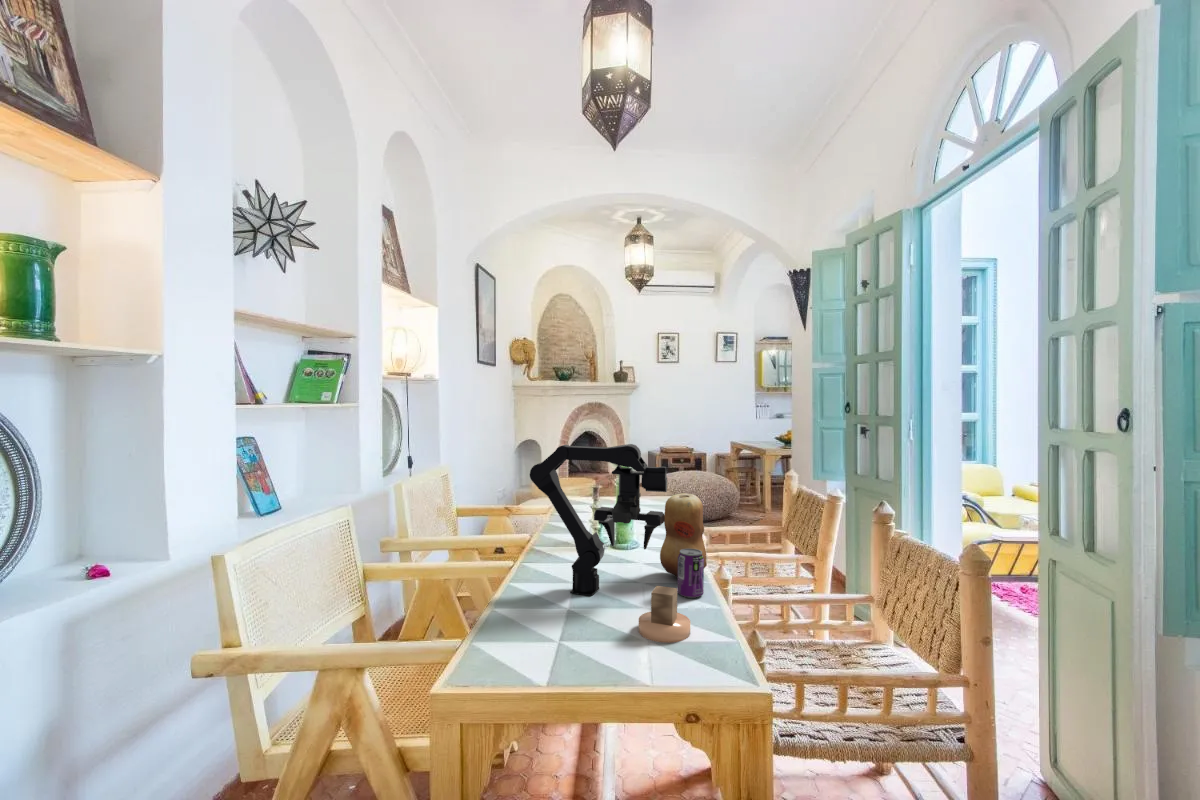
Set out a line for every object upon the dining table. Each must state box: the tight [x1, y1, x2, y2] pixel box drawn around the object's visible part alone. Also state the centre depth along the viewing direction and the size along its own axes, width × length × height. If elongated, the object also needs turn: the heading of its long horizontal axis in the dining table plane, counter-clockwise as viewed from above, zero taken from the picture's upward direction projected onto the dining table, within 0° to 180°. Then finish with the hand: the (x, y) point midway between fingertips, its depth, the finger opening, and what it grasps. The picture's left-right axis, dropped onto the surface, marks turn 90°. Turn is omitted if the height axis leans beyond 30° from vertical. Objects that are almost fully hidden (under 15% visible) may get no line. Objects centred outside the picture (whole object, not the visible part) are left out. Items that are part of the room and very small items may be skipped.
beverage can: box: [676, 549, 705, 599], centre depth 158 cm, size 7×7×12 cm
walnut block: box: [650, 585, 678, 626], centre depth 134 cm, size 5×5×7 cm
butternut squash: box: [659, 492, 708, 579], centre depth 173 cm, size 14×13×25 cm
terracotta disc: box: [638, 610, 691, 644], centre depth 134 cm, size 12×12×3 cm
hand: (628, 547), depth 158 cm, fingers open, 9 cm apart
